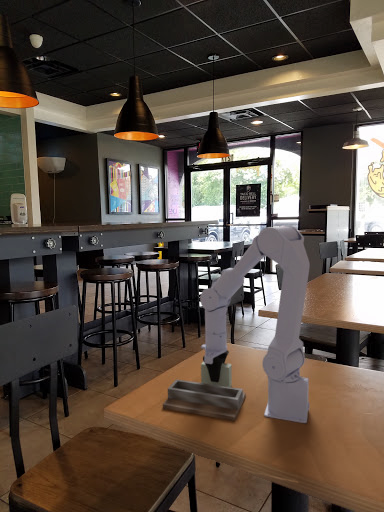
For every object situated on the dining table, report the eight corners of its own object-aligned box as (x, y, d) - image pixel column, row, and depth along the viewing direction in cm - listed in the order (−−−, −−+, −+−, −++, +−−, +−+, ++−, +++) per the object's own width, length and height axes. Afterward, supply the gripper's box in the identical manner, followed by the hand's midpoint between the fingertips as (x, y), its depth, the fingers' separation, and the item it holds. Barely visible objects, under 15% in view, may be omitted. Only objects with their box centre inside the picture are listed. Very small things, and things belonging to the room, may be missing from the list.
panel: (231, 385, 102) (231, 364, 101) (229, 389, 100) (229, 367, 99) (204, 380, 105) (203, 360, 104) (201, 384, 103) (200, 364, 102)
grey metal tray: (245, 396, 96) (245, 383, 95) (234, 421, 84) (234, 406, 84) (180, 386, 102) (180, 374, 101) (162, 408, 91) (162, 394, 90)
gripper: (209, 322, 109) (210, 366, 110) (192, 338, 95) (193, 388, 97) (233, 324, 106) (233, 369, 108) (219, 341, 93) (219, 392, 94)
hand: (216, 378), depth 102 cm, fingers closed on panel, 2 cm apart
